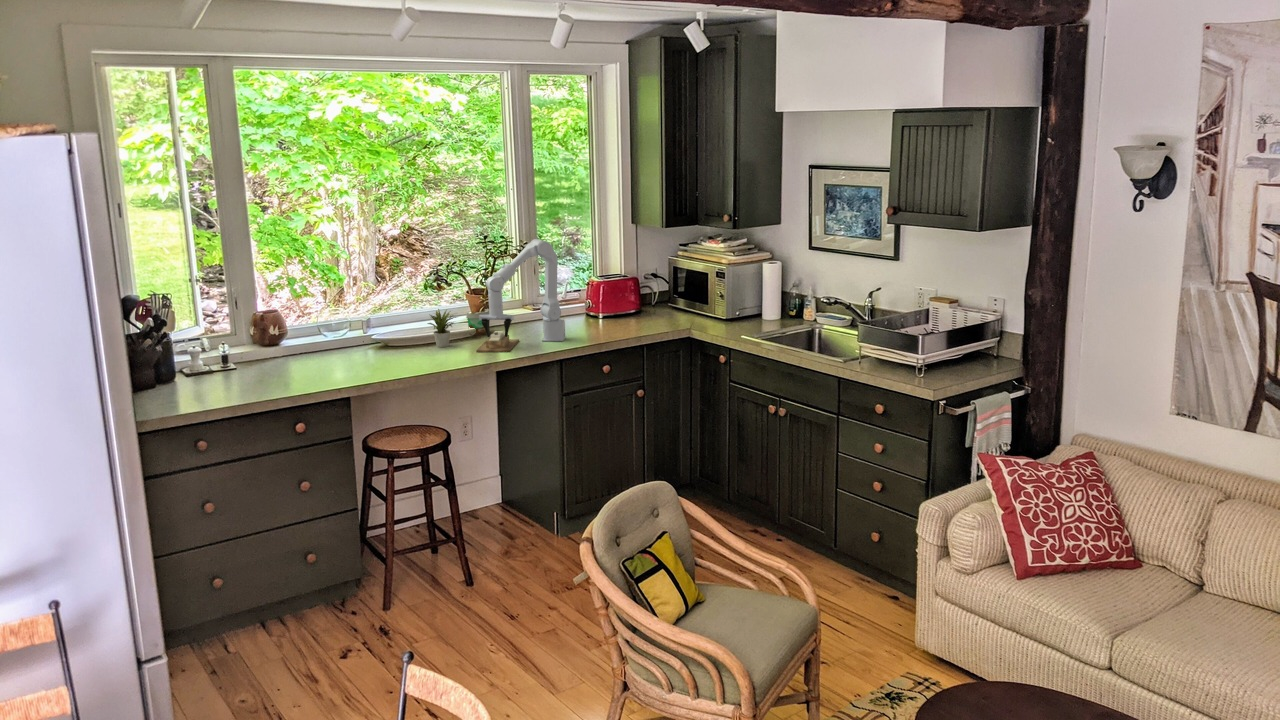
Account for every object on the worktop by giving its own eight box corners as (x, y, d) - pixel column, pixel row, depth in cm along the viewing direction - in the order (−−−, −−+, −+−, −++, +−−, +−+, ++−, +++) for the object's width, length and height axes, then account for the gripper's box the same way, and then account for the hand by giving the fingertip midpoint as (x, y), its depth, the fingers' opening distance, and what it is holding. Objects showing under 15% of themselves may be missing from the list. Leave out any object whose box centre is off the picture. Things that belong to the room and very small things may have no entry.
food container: (476, 336, 446) (475, 314, 443) (467, 335, 449) (465, 313, 447) (496, 331, 455) (495, 310, 453) (487, 330, 459) (485, 308, 456)
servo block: (505, 341, 433) (505, 328, 431) (499, 348, 420) (498, 335, 419) (496, 341, 433) (496, 328, 432) (489, 348, 421) (488, 335, 419)
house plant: (451, 351, 421) (449, 312, 417) (421, 350, 424) (418, 312, 420) (464, 343, 435) (461, 306, 431) (434, 342, 437) (431, 305, 433)
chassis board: (519, 341, 436) (518, 332, 435) (509, 352, 417) (508, 343, 416) (487, 341, 437) (486, 332, 436) (476, 352, 418) (475, 343, 417)
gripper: (476, 307, 419) (478, 338, 423) (510, 306, 418) (512, 338, 422) (480, 303, 426) (482, 334, 430) (514, 303, 425) (515, 334, 428)
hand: (497, 336), depth 426 cm, fingers open, 7 cm apart
